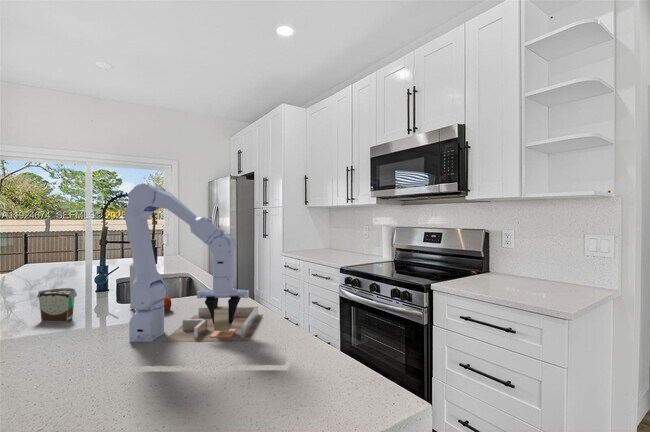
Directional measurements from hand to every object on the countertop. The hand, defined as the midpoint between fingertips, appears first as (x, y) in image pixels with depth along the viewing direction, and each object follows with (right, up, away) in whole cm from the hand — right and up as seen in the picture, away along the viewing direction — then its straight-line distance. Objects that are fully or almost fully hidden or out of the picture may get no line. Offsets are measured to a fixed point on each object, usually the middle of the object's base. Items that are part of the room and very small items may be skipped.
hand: (223, 322), depth 96 cm
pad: (0, -3, 0) cm, 3 cm away
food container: (-60, -5, +17) cm, 63 cm away
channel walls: (-3, -3, +6) cm, 8 cm away
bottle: (-42, -4, +29) cm, 51 cm away
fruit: (-29, -4, +21) cm, 37 cm away
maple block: (0, -2, 0) cm, 2 cm away
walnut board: (-3, -4, +6) cm, 8 cm away
